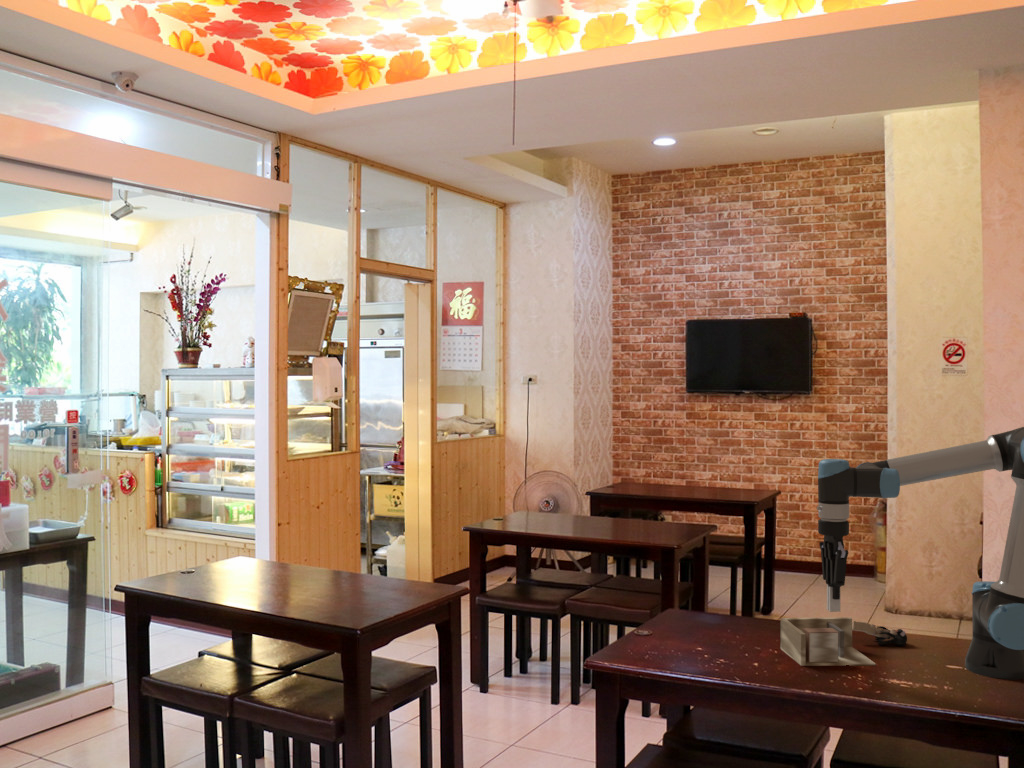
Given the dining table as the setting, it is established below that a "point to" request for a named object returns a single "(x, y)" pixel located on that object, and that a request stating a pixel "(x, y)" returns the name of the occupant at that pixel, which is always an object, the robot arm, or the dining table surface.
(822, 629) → the tall mauve wooden block
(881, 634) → the toy figure
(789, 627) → the shelf
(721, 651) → the dining table surface
